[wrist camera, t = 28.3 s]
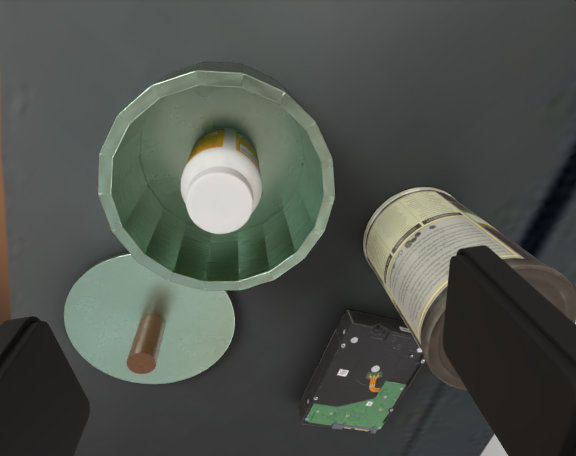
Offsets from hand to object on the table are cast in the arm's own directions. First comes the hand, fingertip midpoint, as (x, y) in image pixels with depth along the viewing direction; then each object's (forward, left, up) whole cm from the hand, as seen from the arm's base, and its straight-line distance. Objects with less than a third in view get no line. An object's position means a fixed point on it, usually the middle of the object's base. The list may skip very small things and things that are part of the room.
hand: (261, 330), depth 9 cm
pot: (+1, +3, -25) cm, 25 cm away
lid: (+5, +20, -24) cm, 32 cm away
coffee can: (-18, +7, -25) cm, 32 cm away
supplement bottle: (+1, +3, -24) cm, 25 cm away
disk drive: (-18, +24, -25) cm, 39 cm away
